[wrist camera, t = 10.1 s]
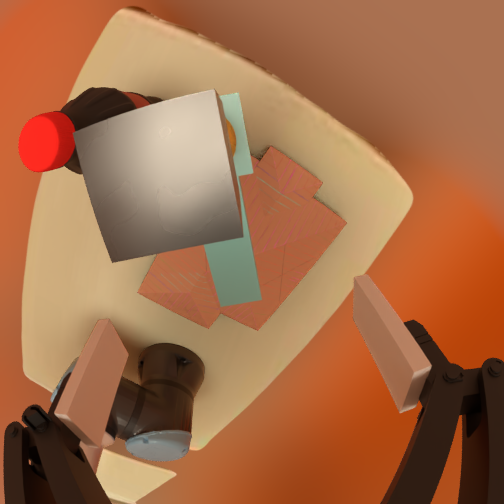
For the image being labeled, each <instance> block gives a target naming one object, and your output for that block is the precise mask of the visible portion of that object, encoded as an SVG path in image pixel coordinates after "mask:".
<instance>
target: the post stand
mask: <svg viewBox="0 0 504 504" xmlns="http://www.w3.org/2000/svg"><path fill="white" fill-rule="evenodd" d="M73 136H74V141H75V145H76V149H77V153H78V157H79V161H80V165H81V169H82V173H83V176H84V180H85V184H86V187H87V190H88V194H89V197H90V200H91V204H92V207H93V210H94V213H95V216H96V219H97V222H98V225H99V228H100V231H101V234H102V237H103V239H104V242H105V245H106V248H107V250H108V253H109V256H110V258H111V261H112V263H113V262H118V261H123V260H128V259H133V258H138V257H143V256H148V255H153V254H159V253H164V252H169V251H174V250H179V249H184V248H189V247H195V246H200V245H205V244H210V243H216V242H221V241H226V240H232V239H237V238H243V237H244V235H243V224H242V212H241V201H240V191H239V186H238V181H237V175H236V170H235V165H234V160H233V156H234V154H235V151H236V135H235V131H234V128H233V126H232V125H231V123H230V122H229V121H228V120H227V119H226V118H225V113H224V108H223V103H222V100H221V98H220V97H219V95H218V94H217V92H216V91H215V89H211V90H207V91H202V92H198V93H193V94H189V95H185V96H181V97H177V98H173V99H169V100H166V101H162V102H158V103H155V104H152V105H148V106H145V107H142V108H138V109H135V110H132V111H129V112H126V113H123V114H120V115H117V116H115V117H112V118H109V119H106V120H104V121H101V122H98V123H96V124H93V125H90V126H88V127H85V128H83V129H81V130H78V131H76V132H73Z"/></svg>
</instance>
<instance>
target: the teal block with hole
mask: <svg viewBox="0 0 504 504" xmlns="http://www.w3.org/2000/svg"><path fill="white" fill-rule="evenodd" d="M219 97H220V98H221V100H222V103H223V108H224V113H225V118H226V119H227V120H228V121H229V122H230V123H231V125H232V126H233V128H234V131H235V135H236V151H235V154H234V156H233V160H234V165H235V170H236V175H237V181H238V186H239V191H240V201H241V212H242V224H243V235H244V237H243V238H237V239H232V240H226V241H221V242H216V243H210V244H205V245H204V248H205V252H206V256H207V259H208V263H209V267H210V270H211V274H212V278H213V281H214V285H215V289H216V292H217V296H218V299H219V303H220V306H221V307H224V306H230V305H236V304H242V303H247V302H253V301H259V300H262V297H261V291H260V284H259V278H258V271H257V266H256V261H255V256H254V250H253V245H252V240H251V235H250V229H249V224H248V219H247V214H246V208H245V203H244V198H243V193H242V187H241V182H240V177H239V176H242V175H247V174H253V168H252V162H251V156H250V151H249V145H248V140H247V134H246V129H245V124H244V118H243V113H242V107H241V102H240V97H239V93H233V94H227V95H222V96H219Z"/></svg>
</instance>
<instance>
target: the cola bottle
mask: <svg viewBox="0 0 504 504" xmlns="http://www.w3.org/2000/svg"><path fill="white" fill-rule="evenodd" d="M162 101H164V100H162V99H160V98H157V97H151V96H147V97H145V96H143V95H141V94H138V93H133V92H122V91H119V90H117V89H115V88H106V87H101V88H94V87H92V88H89V89H87V90H86V91H84V92H83V93H82V94H80V95H79V96H78V97H77V98H76V99H74V100H71V101H70V102H68V103H67V104H66V105H65V106H64V107H63V108H62V109H61V111H54V112H49V113H44V114H40V115H38V116H35V117H33V118H32V119H30V120H29V121H28V122H27V123H26V124H25V126H24V128H23V129H22V132H21V134H20V137H19V147H18V148H19V154H20V157H21V160H22V162H23V163H24V165H25V166H26V167H27V168H28V169H29V170H32V171H34V172H46V171H50V170H54V169H58V168H61V167H63V166H65V167H66V168H68V169H69V170H71V171H73V172H75V173H77V174H83V173H82V169H81V165H80V161H79V157H78V153H77V149H76V145H75V141H74V136H73V132H76V131H78V130H81V129H83V128H85V127H88V126H90V125H93V124H96V123H98V122H101V121H104V120H106V119H109V118H112V117H115V116H117V115H120V114H123V113H126V112H129V111H132V110H135V109H138V108H142V107H145V106H148V105H152V104H155V103H158V102H162Z"/></svg>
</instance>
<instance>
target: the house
mask: <svg viewBox="0 0 504 504" xmlns="http://www.w3.org/2000/svg"><path fill="white" fill-rule="evenodd" d="M250 156H251V155H250ZM251 162H252V168H253V174H247V175H242V176H239V177H240V182H241V187H242V193H243V198H244V203H245V208H246V214H247V219H248V224H249V229H250V235H251V240H252V245H253V250H254V256H255V261H256V266H257V271H258V278H259V284H260V291H261V297H262V300H259V301H253V302H247V303H242V304H236V305H230V306H224V307H221V306H220V303H219V299H218V296H217V292H216V289H215V285H214V281H213V278H212V274H211V270H210V267H209V263H208V259H207V256H206V252H205V248H204V245H200V246H195V247H189V248H184V249H179V250H174V251H169V252H164V253H159V254H158V255H157V257H156V258H155V260H154V262H153V264H152V266H151V268H150V270H149V271H148V273H147V275H146V277H145V279H144V281H143V283H142V285H141V287H140V289H139V291H138V292H137V293H139V294H141V295H143V296H145V297H146V298H148V299H150V300H152V301H154V302H156V303H158V304H160V305H162V306H163V307H165V308H167V309H169V310H171V311H173V312H175V313H177V314H179V315H181V316H183V317H185V318H187V319H189V320H191V321H193V322H195V323H197V324H199V325H201V326H204V327H206V328H208V329H209V327H210V326H211V325H212V324H213V322H214V321H215V320H216V318H217V317H218V316H219V314H220V313H222V314H224V315H226V316H228V317H230V318H232V319H234V320H236V321H238V322H240V323H242V324H244V325H246V326H249V327H251V328H253V329H255V330H257V331H258V330H259V329H260V328H261V327H262V325H263V324H264V323H265V322H266V321H267V320H268V319H269V317H270V316H271V315H272V314H273V313H274V312H275V310H276V309H277V308H278V307H279V306H280V305H281V303H282V302H283V301H284V300H285V299H286V298H287V296H288V295H289V294H290V293H291V292H292V290H293V289H294V288H295V287H296V286H297V284H298V283H299V282H300V281H301V280H302V278H303V277H304V276H305V275H306V274H307V272H308V271H309V270H310V269H311V268H312V266H313V265H314V264H315V263H316V261H317V260H318V259H319V258H320V256H321V255H322V254H323V253H324V251H325V250H326V249H327V248H328V246H329V245H330V244H331V243H332V241H333V240H334V239H335V238H336V236H337V235H338V234H339V233H340V231H341V230H342V229H343V227H344V226H345V225H346V224H347V222H346V221H344V220H343V219H342V218H340V217H339V216H338V215H336V214H335V213H334V212H332V211H331V210H330V209H328V208H327V207H326V206H324V205H323V204H321V203H320V202H319V201H317V200H316V199H315V198H313V196H314V194H315V193H316V192H317V190H318V189H319V188H320V186H321V185H322V184H323V182H321V181H320V180H319V179H317V178H316V177H314V176H313V175H312V174H310V173H309V172H308V171H306V170H305V169H303V168H302V167H301V166H299V165H298V164H296V163H295V162H294V161H292V160H291V159H289V158H288V157H286V156H285V155H284V154H282V153H281V152H279V151H278V150H276V149H275V148H273V147H272V146H270V148H269V149H268V151H267V152H266V153H265V155H264V156H263V158H262V159H261V161H259V160H258V159H256V158H255V157H253V156H251Z"/></svg>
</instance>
